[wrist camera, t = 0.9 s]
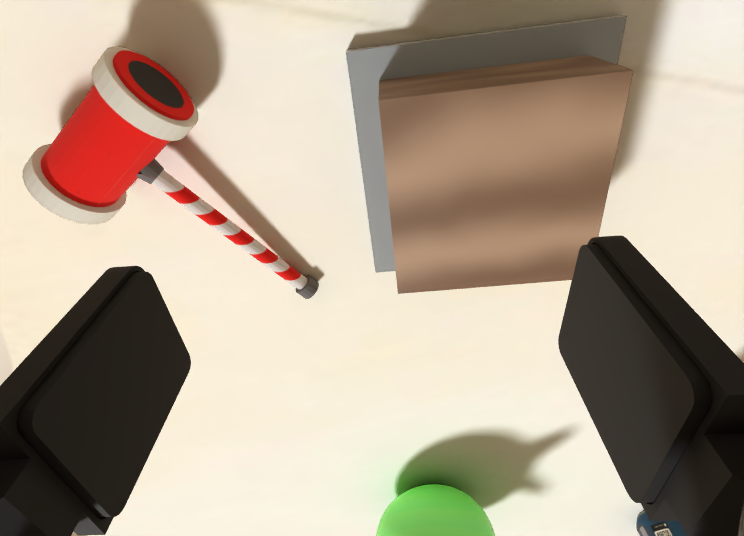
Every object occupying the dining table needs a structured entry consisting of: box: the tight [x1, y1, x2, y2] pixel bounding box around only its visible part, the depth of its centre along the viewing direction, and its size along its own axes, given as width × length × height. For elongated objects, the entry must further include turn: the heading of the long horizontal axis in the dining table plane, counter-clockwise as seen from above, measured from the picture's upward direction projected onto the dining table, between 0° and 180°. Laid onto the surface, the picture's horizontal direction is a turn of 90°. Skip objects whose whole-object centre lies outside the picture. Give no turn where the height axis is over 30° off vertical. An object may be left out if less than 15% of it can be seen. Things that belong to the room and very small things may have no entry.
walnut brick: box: [378, 55, 633, 294], centre depth 30 cm, size 14×14×6 cm
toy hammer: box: [23, 47, 319, 299], centre depth 33 cm, size 23×12×6 cm, turn 41°
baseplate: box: [346, 15, 627, 272], centre depth 33 cm, size 18×18×1 cm
